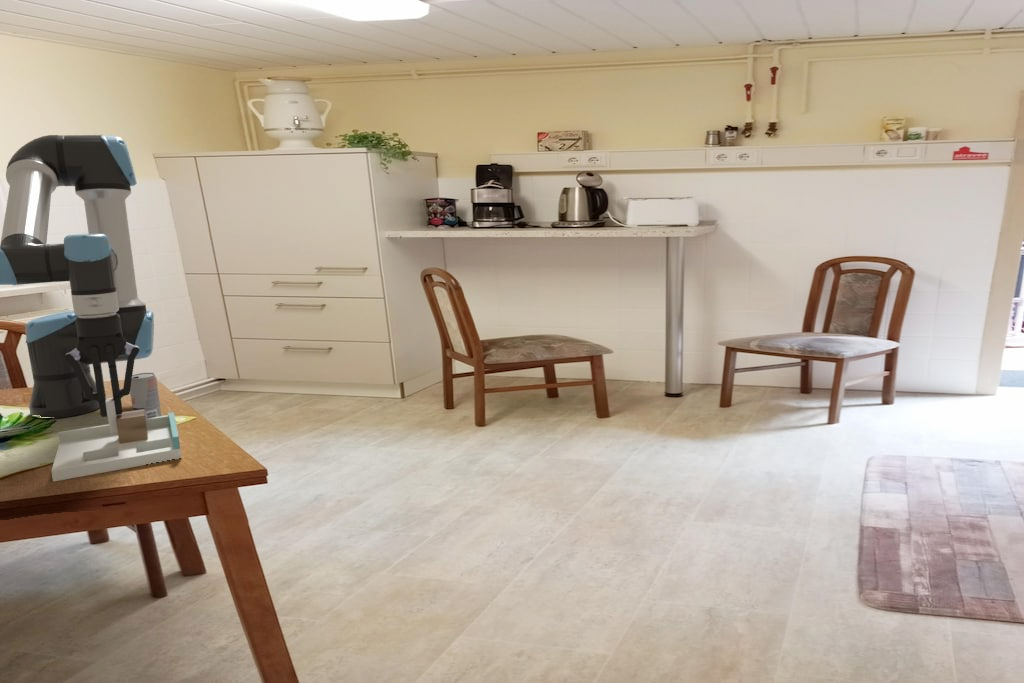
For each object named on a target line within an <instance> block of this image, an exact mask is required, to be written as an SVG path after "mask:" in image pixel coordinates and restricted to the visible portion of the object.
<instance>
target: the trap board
mask: <svg viewBox="0 0 1024 683" xmlns="http://www.w3.org/2000/svg"><path fill="white" fill-rule="evenodd" d="M175 418H176V417H175V413H174V411H171V412H168V413H167V415H162V416H159V417H152V418H146V425H147V432H148V439H146V440H140V441H134V442H128V443H122V444H120V443H119V437H118V432H116V433H110V430H109V423H108V424H102V425H94V426H88V427H82V428H74V429H70V430H69V429H68V430H63V431H58V432H57V436H58V441H59V444H58V447H57V451H56V454H55V457H54V461H53V464H52V467H51V477H52V482H53V483H54V482H57V481H58V482H60V481H65V480H69V479H75V478H80V477H85V476H92V475H98V474H103V473H109V472H114V471H118V470H119V471H120V470H124V469H125V470H126V469H130V468H135V467H136V468H137V467H142V466H146V464H148V465H152V464H151V463H153V464H157V463H156V462H159V463H163V462H162V461H164V462H168V461H167V460H170V461H173V460H172V459H175V460H180V459H179V458H181V459H182V451H181V443H180V436H179V432H178V427H177V422H176V419H175Z"/></svg>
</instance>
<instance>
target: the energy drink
mask: <svg viewBox="0 0 1024 683" xmlns="http://www.w3.org/2000/svg"><path fill="white" fill-rule="evenodd" d="M129 395H130V400H131V407H132V411H134V410H141V409H144V411H145V418H152V417H159V416H163V414H162V409H161V401H160V394H159V387H158V379H157V376H156V373H154V372H141V373H136V374H132V381H131V388H130V393H129Z"/></svg>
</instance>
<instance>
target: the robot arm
mask: <svg viewBox="0 0 1024 683" xmlns="http://www.w3.org/2000/svg"><path fill="white" fill-rule="evenodd" d="M129 153H130V152H129V150H128V145H127V144H126V141H125V140H124V139H123V138H122V137H120V136H115V135H104V134H98V135H96V134H94V135H93V134H87V135H86V134H85V135H84V134H83V135H81V134H80V135H78V134H77V135H76V134H75V135H74V134H73V135H71V134H70V135H69V134H68V135H63V134H62V135H61V134H60V135H59V134H49V135H43V136H40V137H37V138H35V139H32V140H31V141H28V142H27V143H25V144H24V145H23V146H21V147H20V148H18V150H16V152H15V153H14V154H13V155H12V156H11V158H10V159H9V161H8V163H7V166H6V171H5V179H6V182H7V183H8V186H9V189H8V195H7V202H6V206H5V213H4V220H3V226H2V233H1V237H0V286H9V285H11V286H19V285H21V286H22V285H31V284H32V285H33V284H43V283H44V284H45V283H46V284H47V283H58V282H59V283H60V282H69V285H70V293H71V294H70V296H71V301H72V302H71V303H72V307H73V309H72V311H71V310H69V311H68V310H67V311H63V312H58V313H54V314H53V313H52V314H48V315H44V316H40V317H37V318H35V319H32V320H30V321H28V322H27V323H26V325H25V328H24V330H25V344H26V346H27V351H28V356H29V357H28V358H29V363H30V368H31V373H32V379H33V385H32V386H33V387H32V390H31V395H30V400H29V406H28V407H29V408H28V409H29V414H30V416H31V415H40V416H41V417H55V418H54V419H60V418H61V419H63V418H68V417H73V416H79V415H83V414H87V413H90V412H92V411H95V410H98V409H99V412H100V416H101V418H106V417H107V422H108V424H109V430H110V433H116V432H118V430H117V423H116V415H120V414H122V412H123V404H122V398H123V397H125V396H129V395H130V388H131V381H132V375H134V374H133V372H134V365H135V361H136V360H142V359H147V358H149V357H151V355H152V354H153V349H154V334H155V332H154V330H155V328H154V326H155V324H154V322H155V321H154V319H155V318H154V312H153V311H151V310H147V307H146V306H147V305H146V303H145V302H144V301H142V300H141V299H140V298H139V297H138V296H139V295H138V289H137V288H138V287H137V282H136V273H135V267H134V260H133V259H134V258H133V252H132V251H133V250H132V244H131V234H130V228H129V220H128V213H127V212H128V211H127V206H126V199H127V198H128V197H129V196H130V195H131V194H132V190H131V187H134V186H136V185H137V180H136V174H135V171H134V167H133V163H132V160H131V156H130V154H129ZM57 187H74V191H75V195H77V196H78V197H79V198H80V199H82V200H83V202H84V208H85V217H86V225H87V232H88V233H82V234H80V233H79V234H69V235H68V234H67V235H66V236H65V237H64V239H63V243H52V244H51V243H49V244H48V243H47V242H48V231H49V223H50V222H49V221H50V220H49V219H50V210H51V209H50V208H51V198H52V193H54V192H55V191H56V189H57ZM124 361H125V362H126V365H125V366H126V367H125V373H124V374H125V375H124V382H123V388H120V383H119V382H120V381H119V375H118V370H117V362H124ZM102 364H107V367H108V372H109V378H110V380H109V381H110V386H111V393H112V397H108V398H107V397H106V390H105V382H104V374H103V368H102ZM91 365H92V368H93V373H94V377H93V376H92V372H91Z"/></svg>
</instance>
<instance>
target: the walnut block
mask: <svg viewBox="0 0 1024 683" xmlns="http://www.w3.org/2000/svg"><path fill="white" fill-rule="evenodd" d="M116 423H117V430H118V437H119V443H120V444H122V443H128V442H134V441H140V440H146V439H148V432H147V425H146V418H145V411H144V409H141V410H134V411H133V410H129V411H122V414H120V415H116Z"/></svg>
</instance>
